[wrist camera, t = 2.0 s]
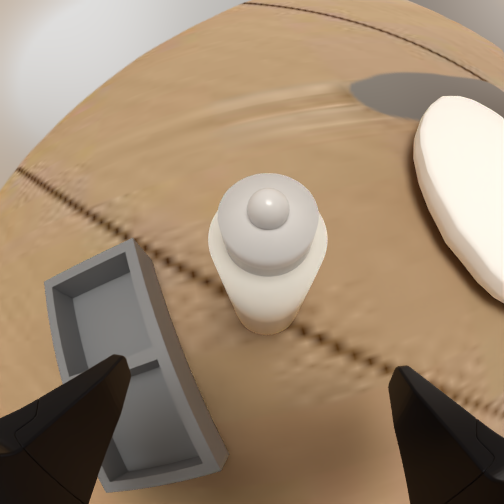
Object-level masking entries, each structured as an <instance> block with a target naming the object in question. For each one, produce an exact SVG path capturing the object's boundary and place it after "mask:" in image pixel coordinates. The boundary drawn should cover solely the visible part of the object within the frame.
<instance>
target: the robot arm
mask: <svg viewBox="0 0 504 504" xmlns="http://www.w3.org/2000/svg"><path fill="white" fill-rule="evenodd" d="M130 380H131V372H130V369H129V366H128V363H127V360H126V358H125V356H123V355H118V354H113V355H111V356H109V357H108V358H106V359H104V360H103V361H101V362H99V363H98V364H96V365H94V366H93V367H91V368H89V369H88V370H86V371H84V372H83V373H81V374H79V375H78V376H76V377H74V378H73V379H71V380H69V381H68V382H66V383H64V384H63V385H61V386H59V387H57V388H56V389H54V390H52V391H51V392H49V393H47V394H46V395H44V396H42V397H40V398H39V399H37V400H35V401H34V402H32V403H30V404H28V405H26V406H25V407H23V408H21V409H19V410H17V411H15V412H13V413H11V414H8V415H6V416H4V417H2V418H0V504H89V501H90V498H91V495H92V492H93V489H94V486H95V483H96V480H97V477H98V474H99V471H100V469H101V466H102V463H103V460H104V457H105V455H106V452H107V449H108V447H109V444H110V441H111V439H112V436H113V433H114V431H115V428H116V426H117V423H118V421H119V418H120V415H121V412H122V409H123V405H124V401H125V398H126V394H127V390H128V387H129V383H130ZM388 388H389V396H390V402H391V409H392V416H393V423H394V429H395V433H396V437H397V441H398V445H399V450H400V454H401V459H402V463H403V468H404V473H405V478H406V483H407V488H408V493H409V499H410V504H504V438H503V437H502V436H500V435H499V434H497V433H496V432H494V431H493V430H491V429H490V428H489V427H487V426H486V425H484V424H483V423H482V422H481V421H479V420H478V419H476V418H475V417H474V416H473V415H471V414H470V413H469V412H468V411H466V410H465V409H464V408H462V407H461V406H460V405H458V404H457V403H456V402H455V401H453V400H452V399H451V398H449V397H448V396H447V395H446V394H444V393H443V392H442V391H440V390H439V389H438V388H436V387H435V386H434V385H433V384H431V383H430V382H429V381H427V380H426V379H425V378H423V377H422V376H421V375H420V374H418V373H417V372H416V371H414V370H413V369H412V368H410V367H409V366H398V367H396V368H395V370H394V373H393V375H392V378H391V380H390V382H389V387H388Z"/></svg>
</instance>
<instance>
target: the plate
mask: <svg viewBox="0 0 504 504" xmlns="http://www.w3.org/2000/svg"><path fill="white" fill-rule="evenodd" d="M413 160H414V165H415V169H416V174H417V178H418V183H419V186H420V189H421V191H422V194H423V197H424V199H425V202H426V205H427V208H428V210H429V212H430V214H431V215H432V217H433V219H434V221H435V223H436V225H437V227H438V229H439V231H440V233H441V235H442V237H443V239H444V241H445V243H446V244H447V245H448V247H449V248H450V249H451V250H452V251H453V253H454V254H455V255H456V256H457V257H458V259H459V260H460V261H461V262H462V264H463V265H464V266H465V267H466V269H467V270H468V271H469V272H470V274H471V275H472V276H473V278H474V279H475V280H476V281H477V283H479V284H480V285H481V286H482V287H483V288H484V289H485V290H486V291H487V292H488V293H489V294H490V295H491V296H493V297H494V298H495V299H497V300H499V301H501V302H502V303H504V118H503V117H501V116H499V115H498V114H497V113H495V112H494V111H492V110H491V109H489V108H487V107H486V106H484V105H481V104H480V103H478V102H476V101H474V100H471V99H468V98H465V97H461V96H442V97H441V98H439V99H438V100H437V101H436V102H434V103H433V104H432V105H431V106H430V107H429V108H428V109H427V111H426V112H425V114H424V115H423V117H422V118H421V120H420V123H419V126H418V129H417V132H416V135H415V138H414V148H413Z"/></svg>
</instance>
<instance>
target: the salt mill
mask: <svg viewBox="0 0 504 504" xmlns="http://www.w3.org/2000/svg"><path fill="white" fill-rule="evenodd" d="M208 244H209V250H210V253H211V257H212V259H213V261H214V264H215V266H216V268H217V271H218V273H219V275H220V278H221V280H222V282H223V284H224V287H225V289H226V291H227V294H228V296H229V298H230V300H231V303H232V305H233V307H234V309H235V312H236V314H237V316H238V318H239V320H240V322H241V323H242V324H243V325H244V326H245V327H246V328H247V329H248V330H250V331H251V332H254V333H256V334H260V335H274V334H277V333H280V332H282V331H284V330H285V329H286V328H288V327H289V326H290V325H291V323H292V322H293V321H294V319H295V317H296V315H297V313H298V311H299V309H300V307H301V305H302V303H303V301H304V299H305V297H306V295H307V293H308V291H309V289H310V287H311V285H312V282H313V280H314V278H315V276H316V274H317V272H318V270H319V268H320V265H321V263H322V261H323V259H324V256H325V253H326V249H327V231H326V226H325V223H324V221H323V219H322V217H321V215H320V213H319V212H318V207H317V204H316V201H315V199H314V198H313V196H312V194H311V193H310V192H309V191H308V190H307V188H306V187H304V186H303V185H302V184H301V183H299V182H298V181H296V180H294V179H292V178H290V177H287V176H284V175H280V174H274V173H262V174H255V175H252V176H248V177H246V178H244V179H242V180H240V181H238V182H237V183H235V184H234V185H233V186H232V187H230V188H229V189H228V191H227V192H226V193H225V194H224V196H223V197H222V200H221V202H220V204H219V208H218V211H217V213H216V214H215V216H214V218H213V220H212V222H211V225H210V229H209V235H208Z"/></svg>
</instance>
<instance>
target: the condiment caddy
mask: <svg viewBox="0 0 504 504" xmlns="http://www.w3.org/2000/svg"><path fill="white" fill-rule="evenodd" d="M44 285H45V294H46V303H47V310H48V317H49V323H50V329H51V335H52V340H53V345H54V350H55V354H56V359H57V363H58V367H59V371H60V375H61V379H62V383H63V384H64V383H66V382H68V381H69V380H71V379H73V378H74V377H76V376H78V375H79V374H81V373H83V372H84V371H86V370H88V369H89V368H91V367H93V366H94V365H96V364H98V363H99V362H101V361H103V360H104V359H106V358H108V357H109V356H111V355H113V354H118V355H123V356H125V358H126V360H127V363H128V366H129V369H130V372H131V380H130V383H129V387H128V390H127V394H126V398H125V401H124V405H123V409H122V412H121V415H120V418H119V421H118V423H117V426H116V428H115V431H114V433H113V436H112V439H111V441H110V444H109V447H108V449H107V452H106V455H105V457H104V460H103V463H102V466H101V469H100V471H99V474H98V478H99V480H100V482H101V484H102V486H103V488H104V490H105V491H106V493H108V492H119V491H128V490H136V489H143V488H149V487H155V486H160V485H166V484H171V483H176V482H180V481H185V480H189V479H193V478H197V477H201V476H205V475H208V474H212V473H215V472H219V471H221V470H222V468H223V466H224V464H225V462H226V460H227V458H228V456H229V453H228V451H227V449H226V447H225V445H224V443H223V441H222V439H221V437H220V435H219V433H218V431H217V429H216V427H215V425H214V423H213V420H212V418H211V416H210V414H209V412H208V410H207V407H206V405H205V403H204V401H203V399H202V396H201V394H200V392H199V389H198V387H197V385H196V382H195V380H194V378H193V375H192V373H191V370H190V368H189V366H188V363H187V361H186V358H185V356H184V353H183V350H182V348H181V345H180V343H179V340H178V337H177V335H176V332H175V329H174V326H173V324H172V321H171V318H170V315H169V312H168V309H167V307H166V304H165V301H164V298H163V295H162V292H161V289H160V285H159V282H158V279H157V276H156V273H155V270H154V266H153V263H152V260H151V259H150V258H149V256H148V255H147V254H146V253H145V252H144V251H143V249H142V248H141V247H140V246H139V245H138V244H137V242H136V241H135V240H134V239H133V238H132V239H129V240H127V241H125V242H123V243H121V244H119V245H116V246H114V247H112V248H110V249H108V250H106V251H104V252H102V253H100V254H98V255H96V256H94V257H92V258H90V259H87V260H85V261H83V262H81V263H79V264H77V265H75V266H74V267H72V268H70V269H68V270H66V271H64V272H62V273H60V274H58V275H56V276H54V277H52V278H50V279H48V280H47V281H45V282H44Z"/></svg>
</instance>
